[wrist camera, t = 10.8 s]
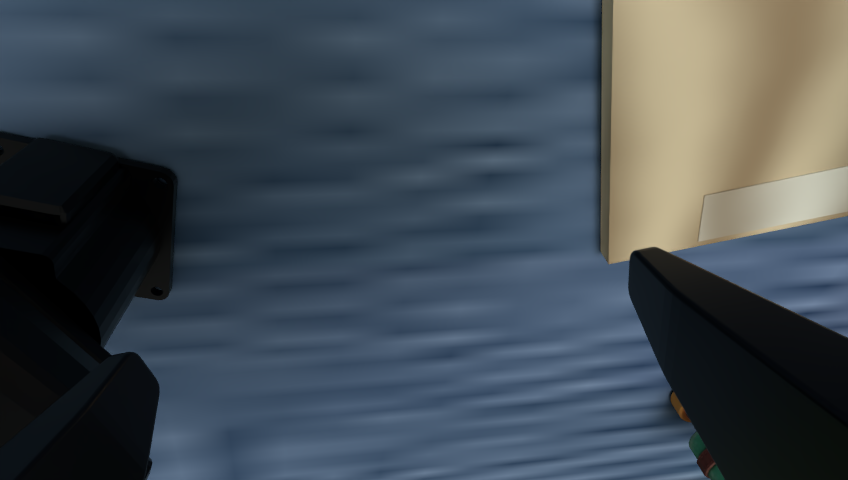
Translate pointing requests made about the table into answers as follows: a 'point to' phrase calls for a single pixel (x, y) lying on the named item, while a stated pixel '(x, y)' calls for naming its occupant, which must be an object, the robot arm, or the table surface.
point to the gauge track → (720, 120)
